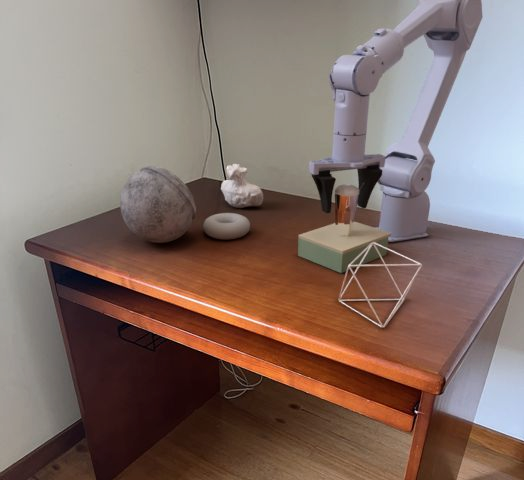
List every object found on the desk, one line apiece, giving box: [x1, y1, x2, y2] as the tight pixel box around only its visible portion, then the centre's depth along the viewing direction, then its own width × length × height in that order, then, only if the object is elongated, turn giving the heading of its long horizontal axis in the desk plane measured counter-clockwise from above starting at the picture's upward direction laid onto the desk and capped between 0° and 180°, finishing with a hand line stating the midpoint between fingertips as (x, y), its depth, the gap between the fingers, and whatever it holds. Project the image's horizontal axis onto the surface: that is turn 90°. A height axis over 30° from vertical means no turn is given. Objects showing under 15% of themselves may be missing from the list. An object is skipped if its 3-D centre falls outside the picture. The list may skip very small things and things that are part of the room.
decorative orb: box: [119, 165, 197, 244], centre depth 109 cm, size 15×14×15 cm
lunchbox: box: [297, 237, 389, 274], centre depth 105 cm, size 13×11×4 cm
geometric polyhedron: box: [338, 242, 423, 329], centre depth 85 cm, size 12×11×9 cm
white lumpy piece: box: [220, 163, 264, 209], centre depth 130 cm, size 12×8×11 cm
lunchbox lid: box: [298, 220, 391, 254], centre depth 104 cm, size 14×11×1 cm
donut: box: [202, 212, 251, 241], centre depth 116 cm, size 10×4×10 cm
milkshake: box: [334, 183, 364, 236], centre depth 102 cm, size 4×5×10 cm
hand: (344, 209), depth 103 cm, fingers open, 7 cm apart
